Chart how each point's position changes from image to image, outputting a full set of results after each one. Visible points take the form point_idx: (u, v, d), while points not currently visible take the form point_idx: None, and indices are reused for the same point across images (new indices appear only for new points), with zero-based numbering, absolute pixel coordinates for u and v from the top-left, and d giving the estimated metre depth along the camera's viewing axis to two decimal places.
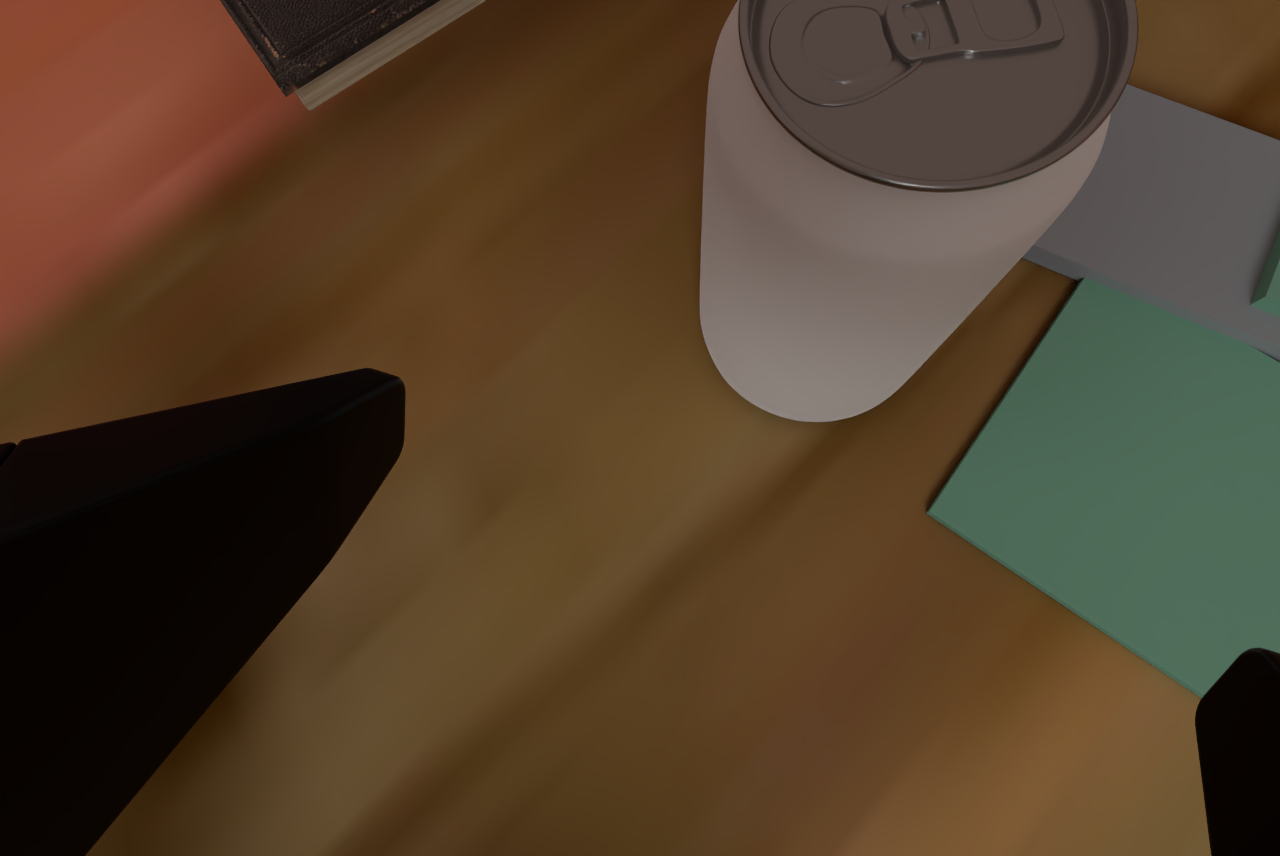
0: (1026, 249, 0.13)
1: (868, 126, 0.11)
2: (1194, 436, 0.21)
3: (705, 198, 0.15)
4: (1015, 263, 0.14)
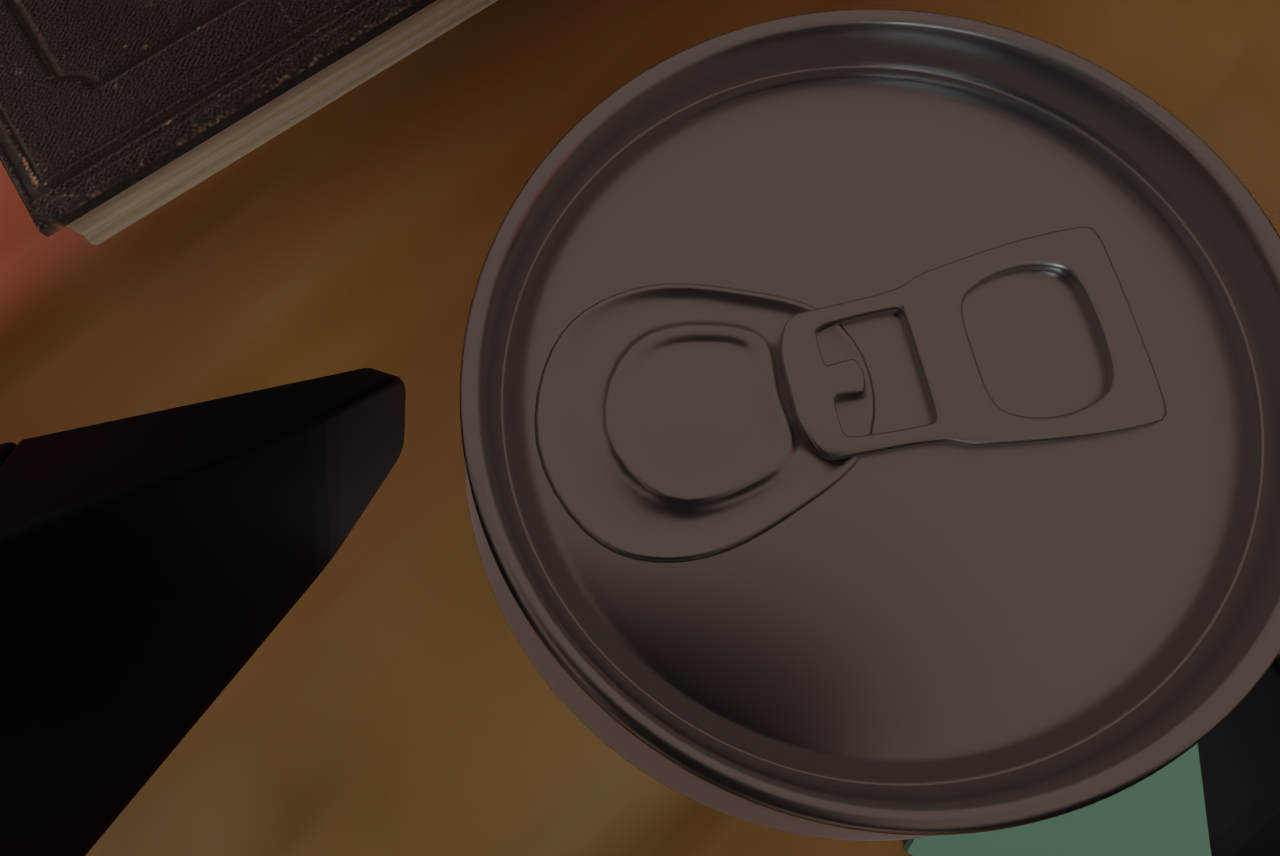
0: None
1: (734, 617, 0.05)
2: None
3: None
4: None
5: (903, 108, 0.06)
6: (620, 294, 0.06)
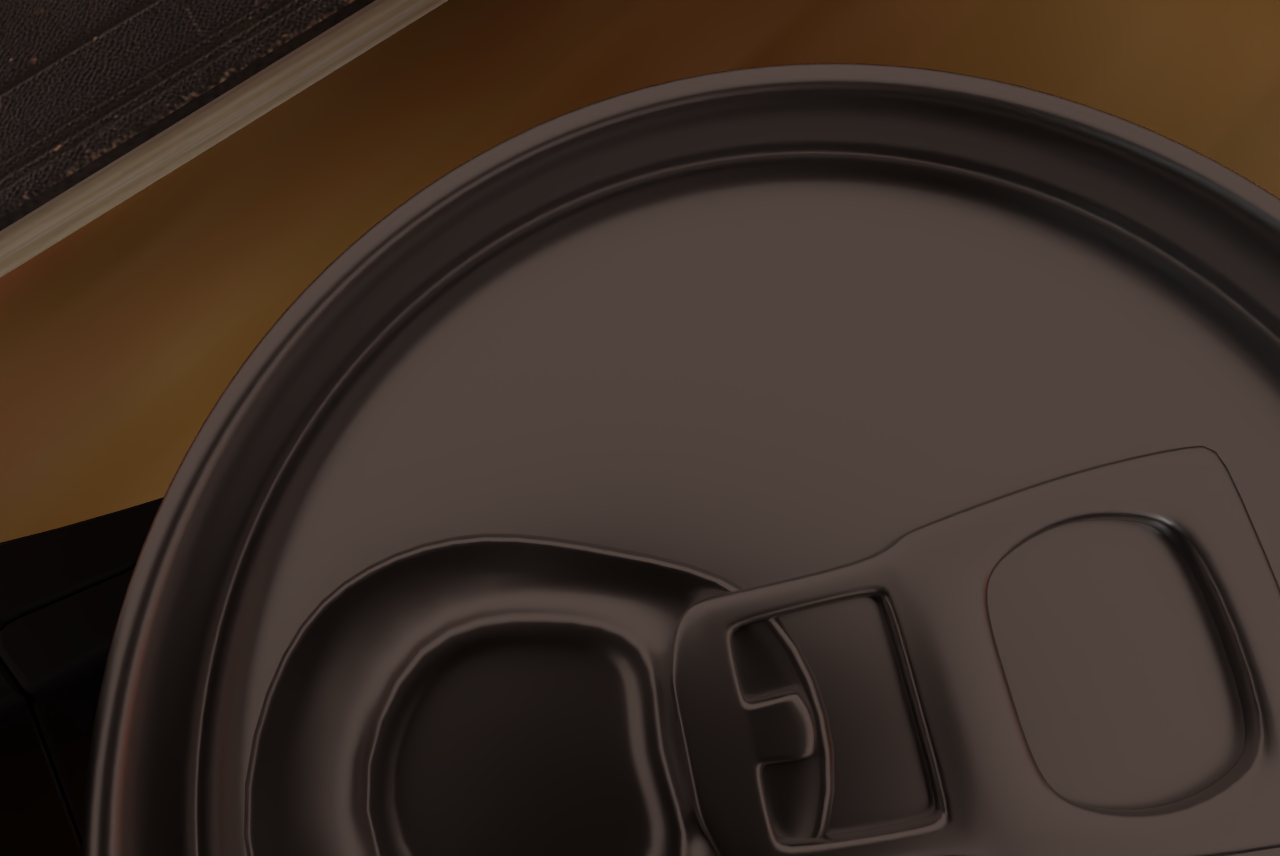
0: None
1: None
2: None
3: None
4: None
5: (887, 225, 0.04)
6: (401, 553, 0.03)
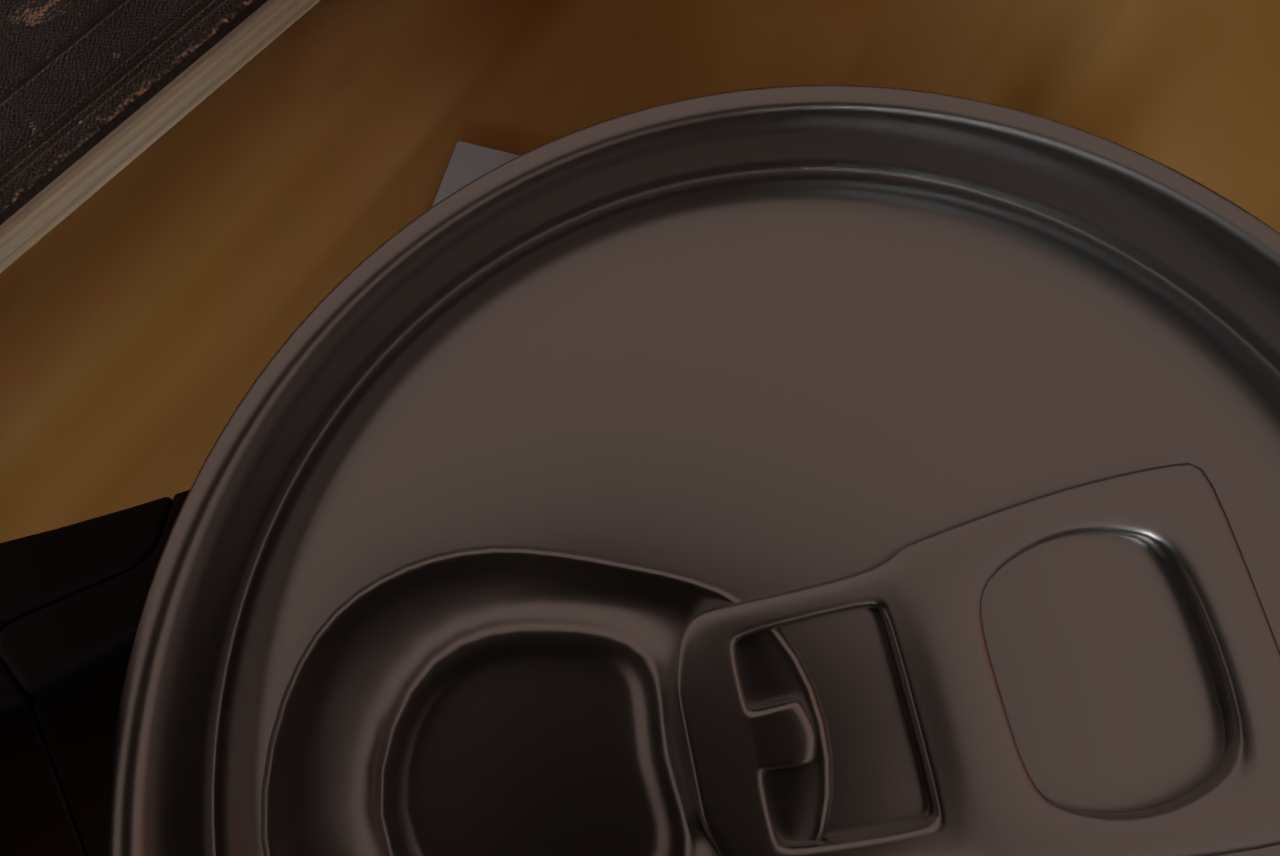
0: None
1: None
2: None
3: None
4: None
5: (887, 243, 0.04)
6: (414, 563, 0.03)
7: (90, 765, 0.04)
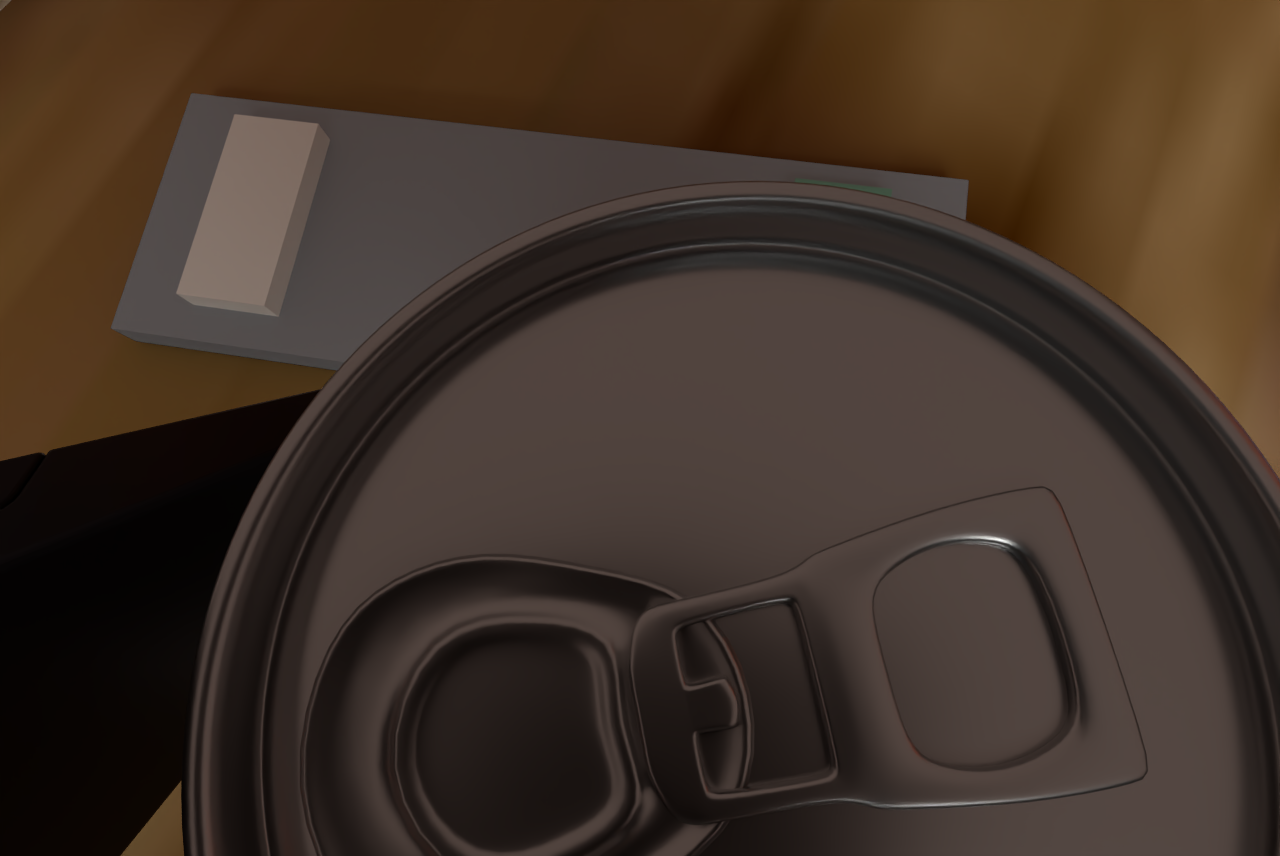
0: None
1: None
2: None
3: None
4: None
5: (806, 306, 0.04)
6: (422, 570, 0.04)
7: None
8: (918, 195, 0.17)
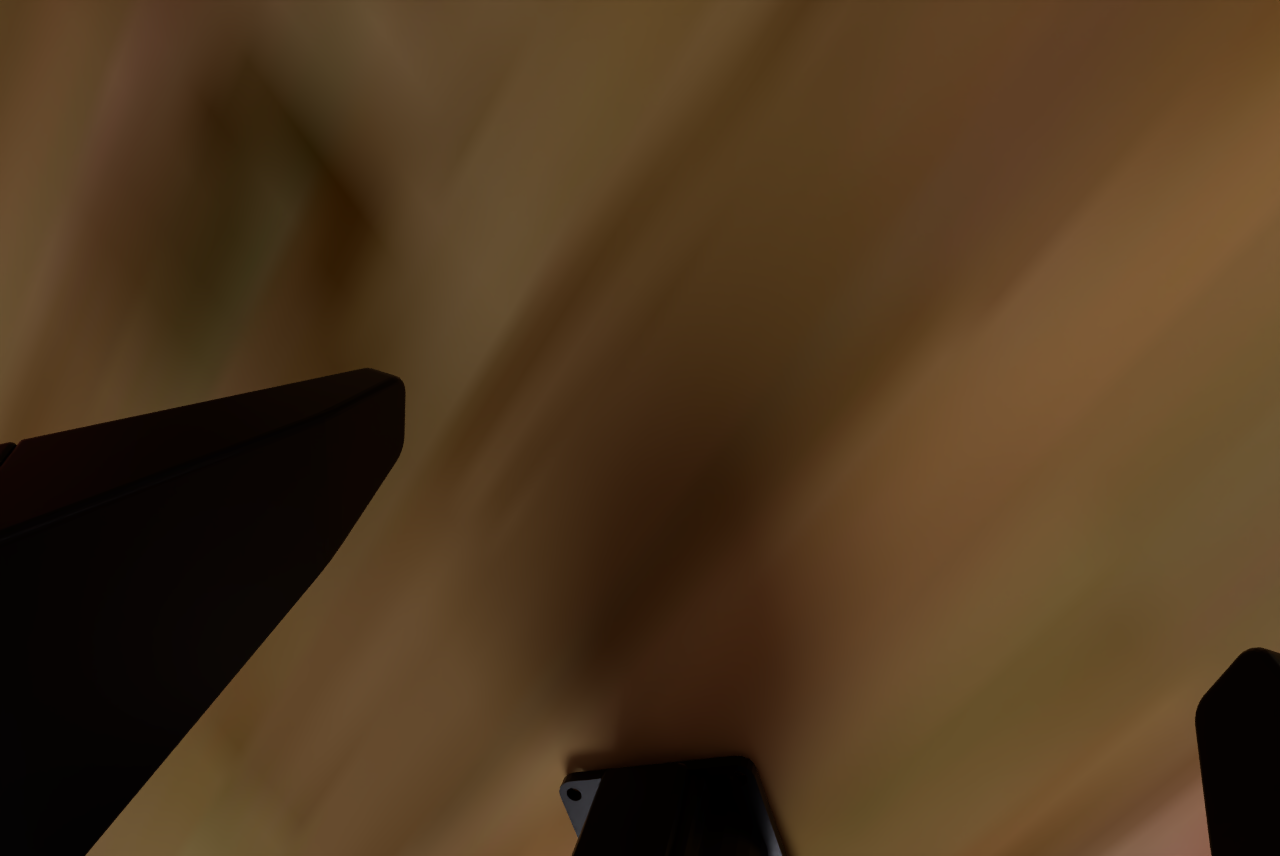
0: None
1: None
2: None
3: None
4: None
5: None
6: None
7: None
8: None
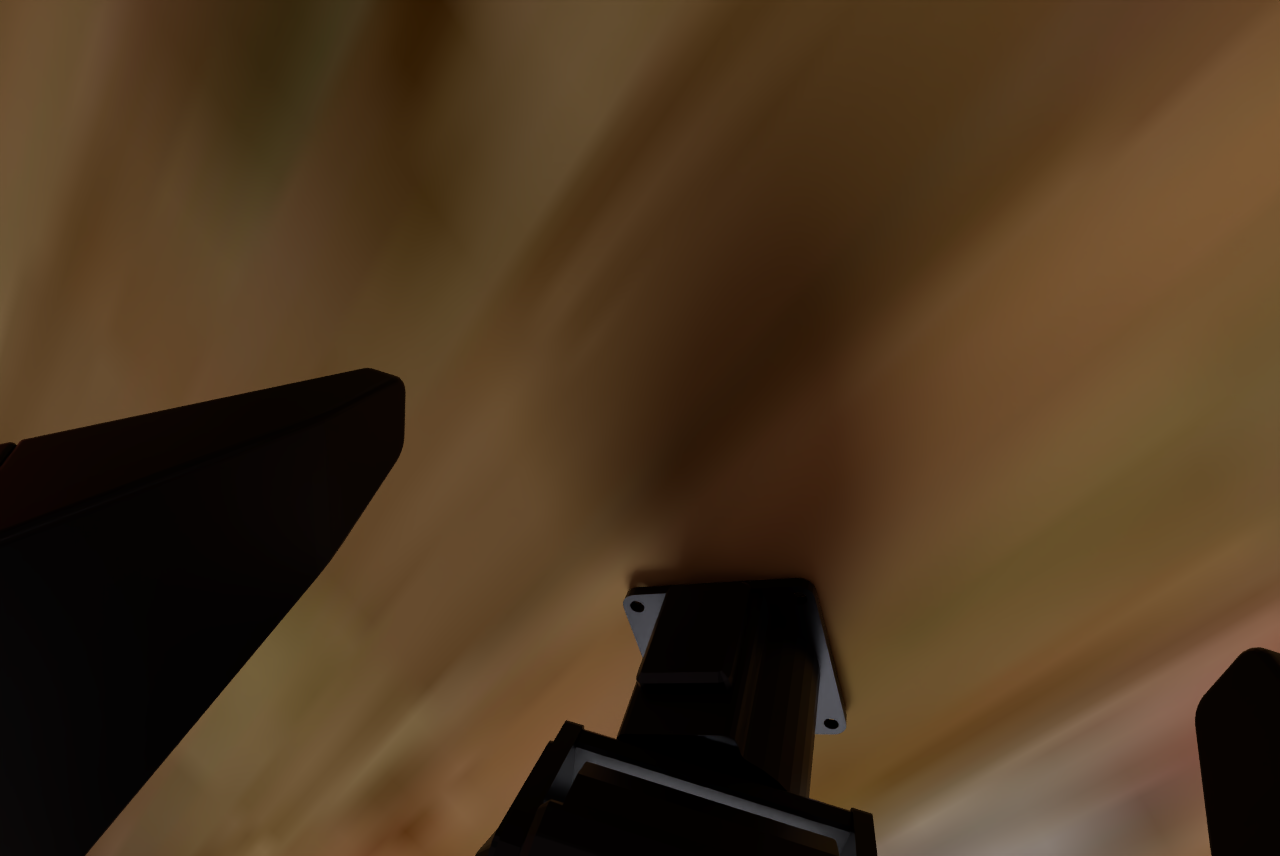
0: None
1: None
2: None
3: None
4: None
5: None
6: None
7: None
8: None
